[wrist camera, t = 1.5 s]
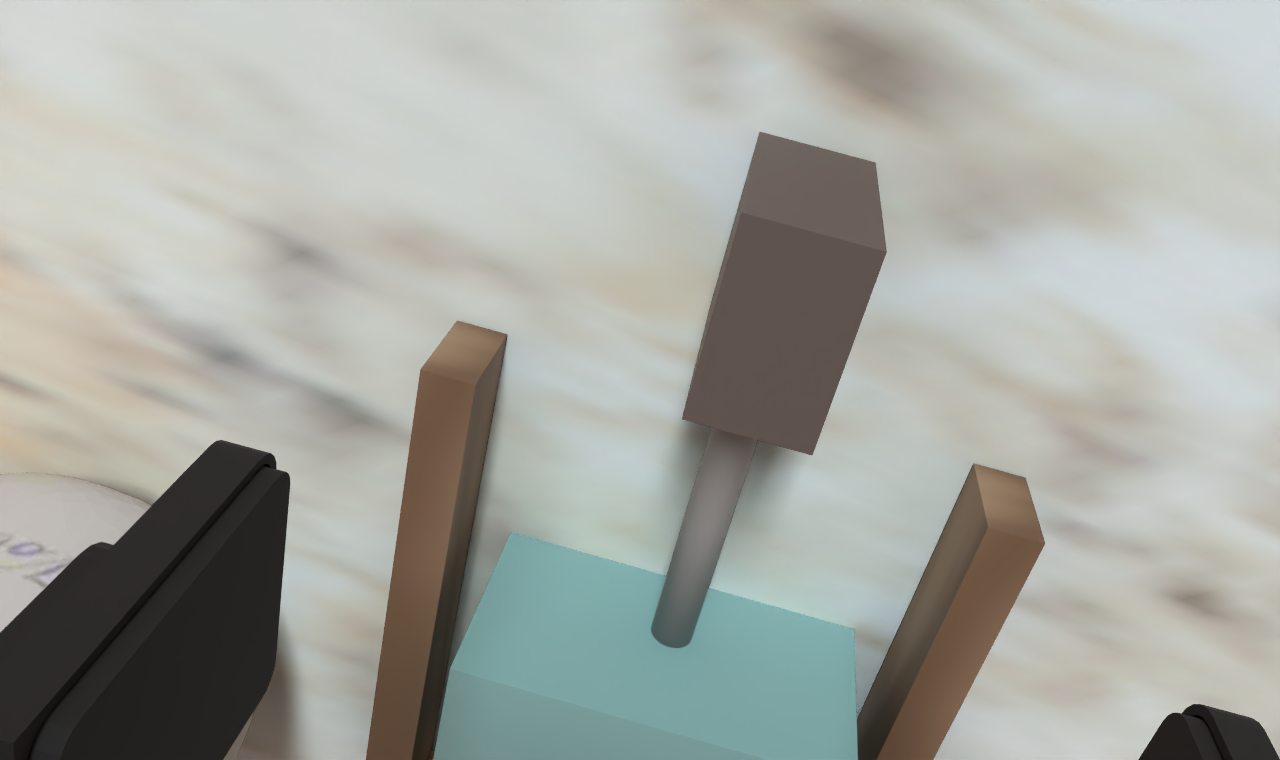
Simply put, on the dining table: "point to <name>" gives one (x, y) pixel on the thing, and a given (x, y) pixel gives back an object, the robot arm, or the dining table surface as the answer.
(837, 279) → the teal block
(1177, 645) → the dining table surface
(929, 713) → the frame
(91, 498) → the teacup
